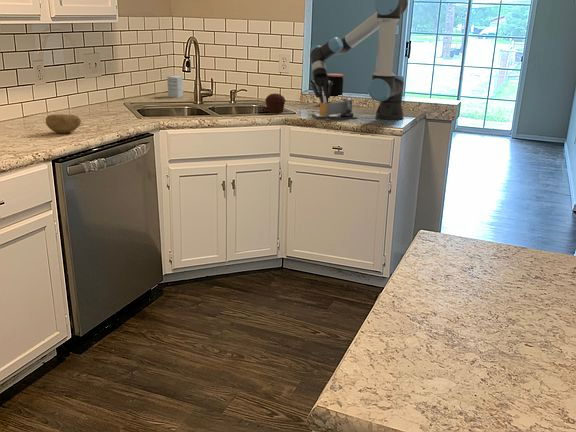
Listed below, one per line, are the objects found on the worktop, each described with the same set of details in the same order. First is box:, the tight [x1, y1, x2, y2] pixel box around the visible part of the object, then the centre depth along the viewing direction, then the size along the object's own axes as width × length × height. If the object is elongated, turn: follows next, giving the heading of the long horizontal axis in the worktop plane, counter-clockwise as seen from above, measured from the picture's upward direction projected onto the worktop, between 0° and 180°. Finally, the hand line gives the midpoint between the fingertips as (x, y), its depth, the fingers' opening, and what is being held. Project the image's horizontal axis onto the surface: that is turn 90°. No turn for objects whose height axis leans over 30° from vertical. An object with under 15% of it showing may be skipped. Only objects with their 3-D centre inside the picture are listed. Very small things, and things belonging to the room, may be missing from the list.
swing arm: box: [318, 97, 354, 116], centre depth 306 cm, size 23×5×7 cm, turn 136°
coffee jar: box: [326, 73, 344, 96], centre depth 362 cm, size 11×11×18 cm
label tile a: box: [327, 114, 341, 120], centre depth 312 cm, size 6×10×1 cm, turn 11°
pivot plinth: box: [337, 112, 358, 120], centre depth 314 cm, size 9×9×3 cm
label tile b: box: [311, 113, 329, 120], centre depth 311 cm, size 6×10×1 cm, turn 11°
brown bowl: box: [45, 113, 82, 134], centre depth 246 cm, size 10×14×8 cm
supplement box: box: [166, 75, 184, 99], centre depth 367 cm, size 7×7×13 cm
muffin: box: [264, 93, 286, 114], centre depth 322 cm, size 12×11×10 cm
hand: (325, 107), depth 304 cm, fingers closed
